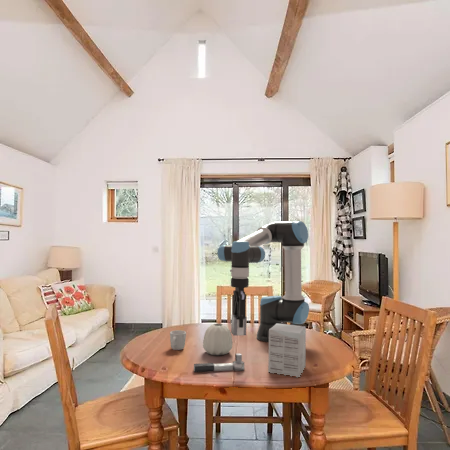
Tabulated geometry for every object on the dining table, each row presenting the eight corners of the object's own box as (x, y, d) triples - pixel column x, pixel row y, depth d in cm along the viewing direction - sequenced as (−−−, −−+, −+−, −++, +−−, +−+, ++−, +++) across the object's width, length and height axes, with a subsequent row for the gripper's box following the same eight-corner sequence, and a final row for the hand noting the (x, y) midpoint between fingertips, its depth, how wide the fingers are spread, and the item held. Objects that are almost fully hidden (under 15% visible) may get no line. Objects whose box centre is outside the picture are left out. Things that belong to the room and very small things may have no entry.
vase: (210, 359, 160) (211, 329, 161) (198, 350, 172) (199, 322, 173) (237, 355, 166) (238, 326, 167) (223, 347, 179) (224, 320, 179)
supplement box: (275, 362, 157) (276, 322, 158) (305, 367, 152) (306, 326, 153) (267, 372, 145) (268, 329, 146) (300, 378, 140) (300, 333, 141)
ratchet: (242, 366, 152) (242, 352, 152) (245, 370, 147) (245, 355, 147) (193, 368, 148) (193, 354, 148) (194, 373, 143) (195, 358, 143)
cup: (180, 353, 168) (181, 336, 168) (164, 352, 169) (165, 335, 170) (187, 346, 178) (188, 330, 179) (172, 345, 180) (173, 329, 180)
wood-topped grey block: (243, 332, 152) (243, 314, 153) (246, 335, 147) (246, 317, 148) (231, 332, 151) (231, 314, 152) (233, 335, 146) (234, 317, 147)
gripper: (227, 275, 159) (225, 328, 158) (235, 279, 141) (234, 339, 140) (243, 275, 160) (242, 327, 159) (254, 279, 142) (253, 338, 141)
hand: (238, 333), depth 149 cm, fingers closed on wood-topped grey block, 5 cm apart
